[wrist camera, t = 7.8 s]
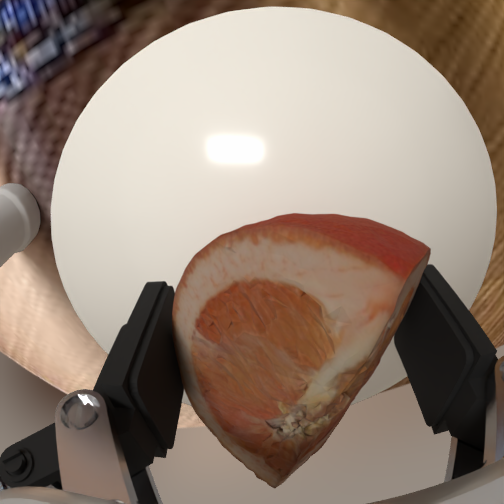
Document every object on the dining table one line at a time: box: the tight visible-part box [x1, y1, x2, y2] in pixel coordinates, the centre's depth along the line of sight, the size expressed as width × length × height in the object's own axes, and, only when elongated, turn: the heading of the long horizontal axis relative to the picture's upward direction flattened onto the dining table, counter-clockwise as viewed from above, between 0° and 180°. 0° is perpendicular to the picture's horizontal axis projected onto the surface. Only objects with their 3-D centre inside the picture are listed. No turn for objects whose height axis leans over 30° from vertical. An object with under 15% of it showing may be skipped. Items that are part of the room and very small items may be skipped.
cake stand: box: [51, 7, 497, 406], centre depth 15 cm, size 18×18×9 cm
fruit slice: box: [172, 213, 431, 488], centre depth 8 cm, size 8×7×5 cm
